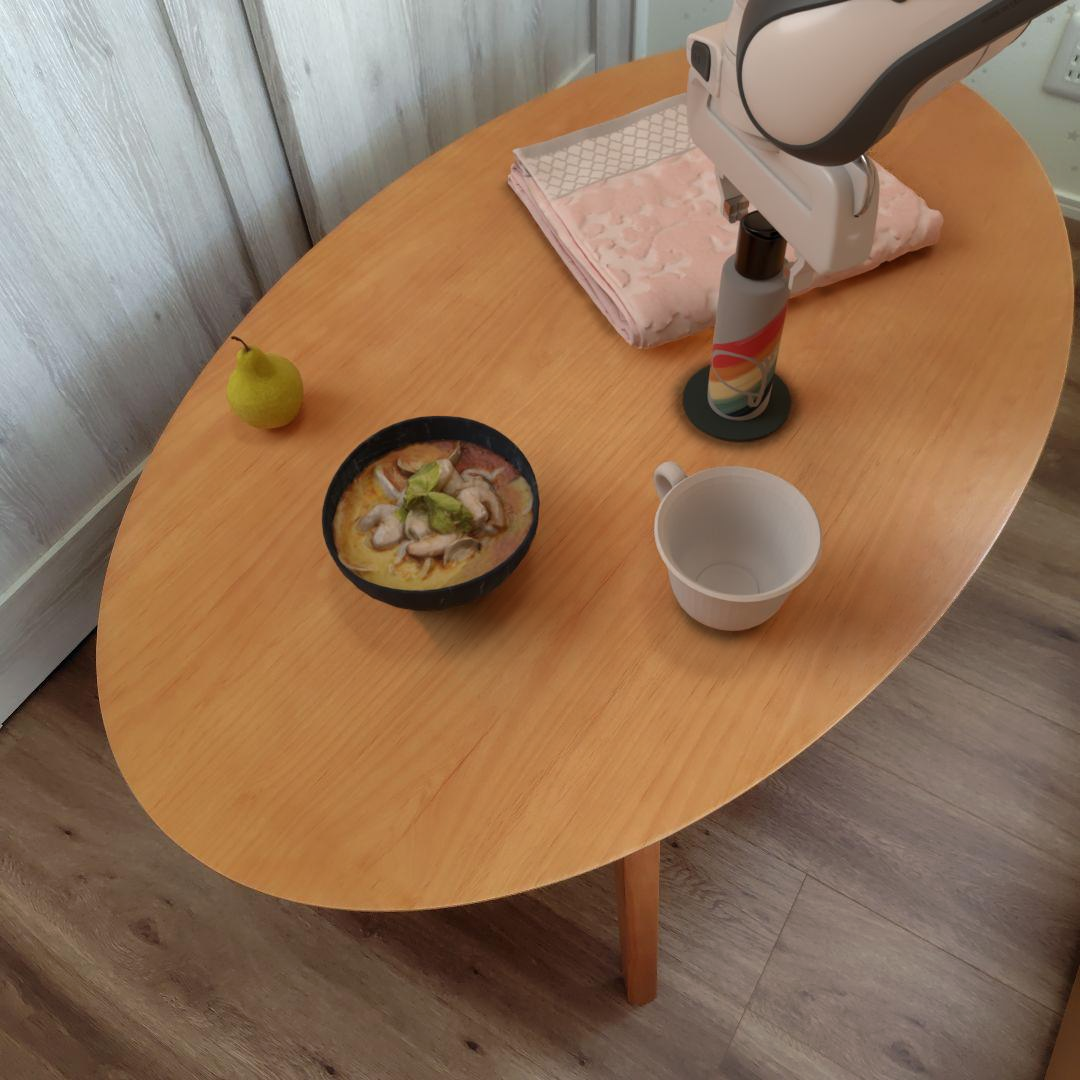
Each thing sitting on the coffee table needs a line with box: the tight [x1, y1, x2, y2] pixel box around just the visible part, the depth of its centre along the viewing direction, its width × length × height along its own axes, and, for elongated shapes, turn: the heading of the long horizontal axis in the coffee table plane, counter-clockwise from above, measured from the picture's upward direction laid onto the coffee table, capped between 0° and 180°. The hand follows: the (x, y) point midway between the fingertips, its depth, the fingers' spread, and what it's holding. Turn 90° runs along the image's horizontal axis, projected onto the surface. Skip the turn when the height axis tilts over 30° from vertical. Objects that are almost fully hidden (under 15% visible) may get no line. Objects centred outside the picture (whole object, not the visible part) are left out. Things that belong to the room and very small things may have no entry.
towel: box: [507, 91, 945, 351], centre depth 101 cm, size 36×34×6 cm
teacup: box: [653, 460, 824, 632], centre depth 73 cm, size 12×15×10 cm
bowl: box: [321, 415, 541, 612], centre depth 76 cm, size 17×17×10 cm
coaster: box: [682, 364, 792, 443], centre depth 88 cm, size 10×10×1 cm
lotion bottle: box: [708, 210, 791, 421], centre depth 80 cm, size 6×6×20 cm
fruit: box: [226, 335, 304, 430], centre depth 86 cm, size 7×7×12 cm
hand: (763, 249), depth 74 cm, fingers open, 8 cm apart
